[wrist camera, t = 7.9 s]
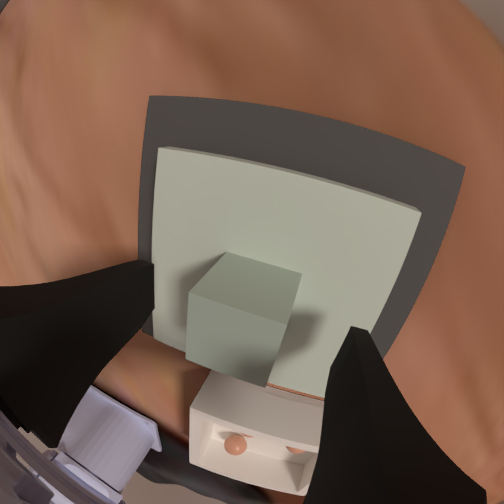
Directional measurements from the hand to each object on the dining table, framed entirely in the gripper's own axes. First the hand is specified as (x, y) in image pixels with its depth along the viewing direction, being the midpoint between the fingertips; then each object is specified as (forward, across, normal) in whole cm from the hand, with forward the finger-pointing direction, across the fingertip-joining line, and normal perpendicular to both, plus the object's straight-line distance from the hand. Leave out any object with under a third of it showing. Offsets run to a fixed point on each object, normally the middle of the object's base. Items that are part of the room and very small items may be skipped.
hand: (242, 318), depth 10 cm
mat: (+4, 0, 0) cm, 4 cm away
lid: (+3, 0, 0) cm, 3 cm away
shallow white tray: (+4, -3, +13) cm, 14 cm away
